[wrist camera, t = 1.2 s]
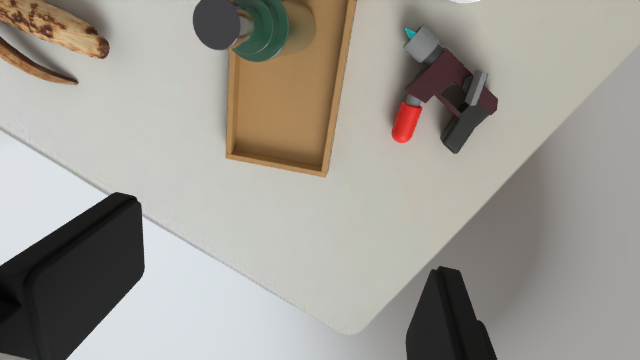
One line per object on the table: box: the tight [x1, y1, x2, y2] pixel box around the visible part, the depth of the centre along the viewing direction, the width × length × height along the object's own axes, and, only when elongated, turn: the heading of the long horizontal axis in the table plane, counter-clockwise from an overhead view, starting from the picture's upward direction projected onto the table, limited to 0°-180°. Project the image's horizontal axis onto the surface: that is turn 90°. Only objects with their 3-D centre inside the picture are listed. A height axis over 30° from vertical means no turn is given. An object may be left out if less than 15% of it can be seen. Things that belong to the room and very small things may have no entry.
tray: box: [226, 0, 357, 177], centre depth 34 cm, size 24×11×2 cm, turn 172°
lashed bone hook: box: [0, 0, 110, 85], centre depth 36 cm, size 9×5×18 cm
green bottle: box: [193, 0, 316, 62], centre depth 25 cm, size 5×5×18 cm
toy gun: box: [392, 25, 498, 154], centre depth 33 cm, size 10×12×5 cm
